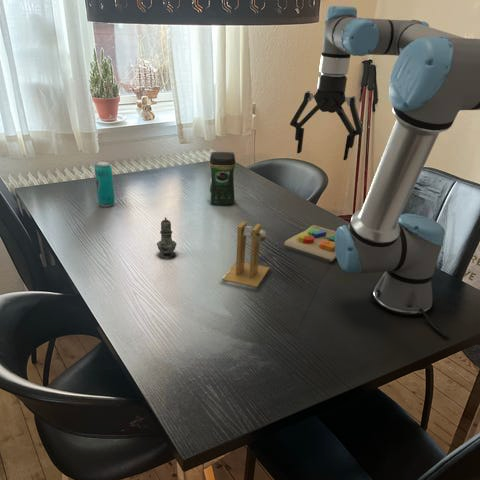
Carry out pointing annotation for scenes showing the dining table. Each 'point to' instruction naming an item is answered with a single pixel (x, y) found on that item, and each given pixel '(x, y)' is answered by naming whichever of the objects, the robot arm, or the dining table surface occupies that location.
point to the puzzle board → (315, 242)
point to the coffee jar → (222, 178)
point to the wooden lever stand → (244, 271)
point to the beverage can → (104, 183)
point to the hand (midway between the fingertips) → (322, 155)
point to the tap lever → (249, 233)
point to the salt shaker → (166, 241)
